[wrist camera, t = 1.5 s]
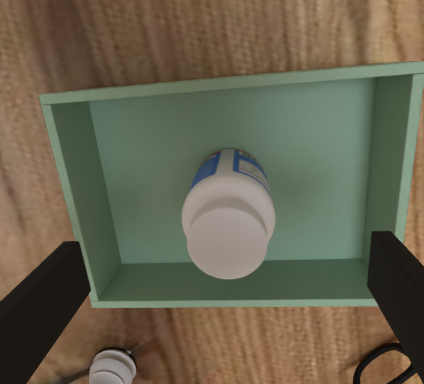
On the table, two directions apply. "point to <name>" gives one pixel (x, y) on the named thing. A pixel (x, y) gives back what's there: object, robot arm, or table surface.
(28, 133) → the table surface
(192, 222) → the pill bottle
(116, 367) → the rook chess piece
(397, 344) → the glasses
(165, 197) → the tote
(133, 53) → the table surface
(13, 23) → the table surface
